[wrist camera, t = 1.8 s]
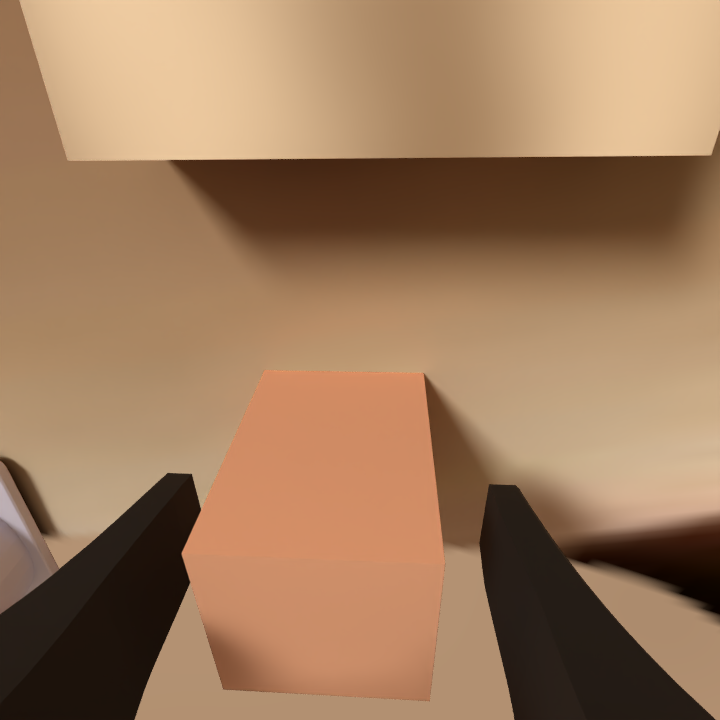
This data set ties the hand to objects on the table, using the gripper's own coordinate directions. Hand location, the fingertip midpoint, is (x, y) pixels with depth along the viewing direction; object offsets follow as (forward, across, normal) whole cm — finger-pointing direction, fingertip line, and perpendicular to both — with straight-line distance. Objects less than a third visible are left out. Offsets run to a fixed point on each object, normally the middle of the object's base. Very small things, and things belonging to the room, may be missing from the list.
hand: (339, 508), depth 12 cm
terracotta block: (+3, 0, 0) cm, 3 cm away
